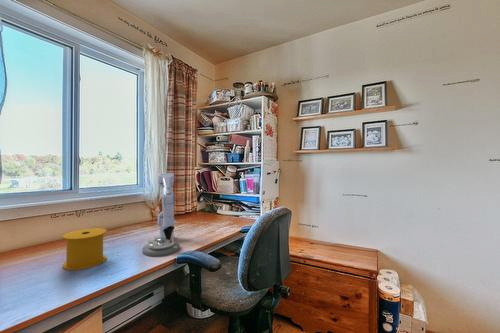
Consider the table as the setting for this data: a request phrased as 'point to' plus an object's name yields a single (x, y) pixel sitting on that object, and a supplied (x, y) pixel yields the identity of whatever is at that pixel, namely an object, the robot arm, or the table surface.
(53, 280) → the table surface
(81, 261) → the spool
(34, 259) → the table surface
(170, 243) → the silver round metal fixture
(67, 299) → the table surface
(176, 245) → the base plate
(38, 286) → the table surface
